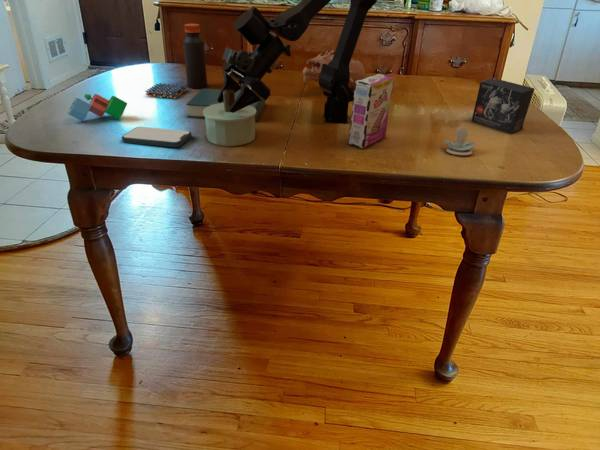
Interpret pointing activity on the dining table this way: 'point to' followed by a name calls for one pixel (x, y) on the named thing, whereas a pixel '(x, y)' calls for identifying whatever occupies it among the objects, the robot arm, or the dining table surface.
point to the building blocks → (97, 107)
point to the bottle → (194, 57)
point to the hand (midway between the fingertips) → (224, 106)
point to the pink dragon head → (317, 62)
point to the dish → (230, 132)
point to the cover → (228, 110)
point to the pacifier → (460, 143)
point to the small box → (502, 105)
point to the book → (210, 98)
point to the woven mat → (166, 90)
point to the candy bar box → (370, 110)
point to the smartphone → (157, 136)
